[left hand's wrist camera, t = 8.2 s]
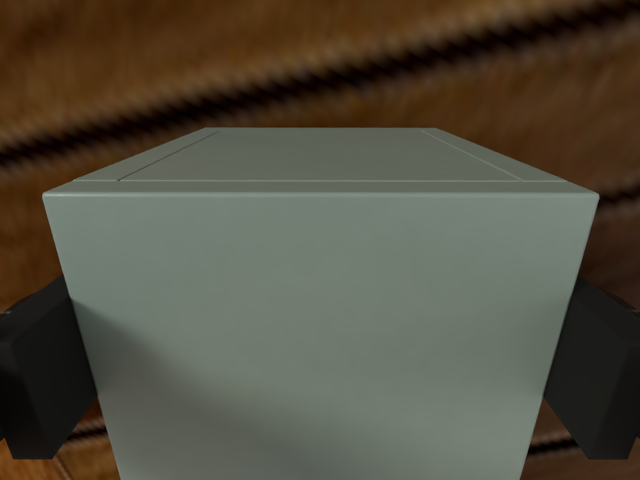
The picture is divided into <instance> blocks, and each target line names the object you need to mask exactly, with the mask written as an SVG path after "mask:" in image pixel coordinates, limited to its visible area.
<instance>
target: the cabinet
mask: <svg viewBox="0 0 640 480" xmlns="http://www.w3.org/2000/svg"><path fill="white" fill-rule="evenodd" d="M42 198H43V202H44V205H45V209H46V212H47V216H48V220H49V223H50V227H51V230H52V234H53V238H54V241H55V245H56V248H57V252H58V256H59V259H60V263H61V266H62V270H63V273H64V277H65V281H66V284H67V288H68V291H69V295H70V299H71V302H72V306H73V309H74V313H75V317H76V320H77V324H78V327H79V331H80V334H81V338H82V342H83V345H84V349H85V352H86V356H87V360H88V363H89V367H90V370H91V374H92V377H93V381H94V385H95V388H96V392H97V395H98V399H99V403H100V406H101V410H102V413H103V417H104V421H105V424H106V428H107V431H108V435H109V438H110V442H111V446H112V449H113V453H114V456H115V460H116V464H117V467H118V471H119V474H120V478H121V480H520V477H521V473H522V469H523V466H524V462H525V459H526V455H527V452H528V448H529V445H530V441H531V438H532V434H533V431H534V427H535V423H536V420H537V416H538V413H539V409H540V406H541V402H542V399H543V395H544V392H545V388H546V385H547V381H548V377H549V374H550V370H551V367H552V363H553V360H554V356H555V353H556V349H557V346H558V342H559V339H560V335H561V331H562V328H563V324H564V321H565V317H566V314H567V310H568V307H569V303H570V300H571V296H572V293H573V289H574V285H575V282H576V278H577V275H578V271H579V268H580V264H581V261H582V257H583V254H584V250H585V247H586V243H587V239H588V236H589V232H590V229H591V225H592V222H593V218H594V215H595V211H596V208H597V204H598V201H599V194H598V193H596V192H593V191H591V190H588V189H586V188H583V187H581V186H578V185H576V184H573V183H571V182H568V181H566V180H564V179H562V178H559V177H557V176H554V175H552V174H549V173H547V172H544V171H542V170H539V169H537V168H534V167H532V166H529V165H527V164H524V163H522V162H519V161H517V160H514V159H512V158H509V157H507V156H504V155H502V154H499V153H497V152H494V151H492V150H489V149H487V148H485V147H482V146H480V145H477V144H475V143H472V142H470V141H467V140H465V139H462V138H460V137H457V136H455V135H452V134H450V133H447V132H445V131H442V130H440V129H437V128H203V129H201V130H198V131H195V132H193V133H190V134H188V135H185V136H183V137H180V138H178V139H175V140H173V141H170V142H168V143H165V144H163V145H160V146H158V147H155V148H153V149H150V150H148V151H145V152H143V153H140V154H138V155H135V156H133V157H130V158H127V159H125V160H122V161H120V162H117V163H115V164H112V165H110V166H107V167H105V168H102V169H100V170H97V171H95V172H92V173H90V174H87V175H85V176H82V177H80V178H77V179H75V180H73V181H71V182H69V183H66V184H64V185H61V186H59V187H56V188H54V189H51V190H49V191H46V192H44V193H43V194H42Z"/></svg>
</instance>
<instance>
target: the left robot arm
mask: <svg viewBox="0 0 640 480" xmlns="http://www.w3.org/2000/svg"><path fill="white" fill-rule="evenodd" d="M97 396H98V395H97V392H96V388H95V385H94V381H93V377H92V374H91V370H90V367H89V363H88V360H87V356H86V352H85V349H84V345H83V342H82V338H81V334H80V331H79V327H78V324H77V320H76V317H75V313H74V309H73V306H72V302H71V299H70V295H69V291H68V288H67V284H66V281H65V277H64V273H63V274H62V275H61V276H59V277H58V278H57V279H55V280H54V281H53V282H51V283H50V284H48V285H47V286H46V287H44V288H43V289H42V290H40V291H38V292H36V293H34V294H32V295H29V296H27V297H25V298H23V299H21V300H19V301H18V302H17V303H15V304H14V305H12V306H11V307H10V308H8V309H7V310H5V311H4V314H0V441H1V440H2V439H3V438H4V437H5V440H6V442H7V445H8V447H9V450H10V452H11V455H12V457H13V459H52V458H53V457H54V456H55V454H56V453H57V451H58V450H59V449H60V447H61V446H62V445H63V443H64V442H65V440H66V439H67V438H68V436H69V435H70V433H71V432H72V431H73V429H74V428H75V426H76V425H77V424H78V422H79V421H80V419H81V418H82V417H83V415H84V414H85V412H86V411H87V410H88V408H89V407H90V405H91V404H92V403H93V401H94V400H95V399H96V397H97ZM543 396H544V398H545V399H546V401H547V402H548V403H549V405H550V406H551V408H552V409H553V410H554V412H555V413H556V415H557V416H558V417H559V419H560V420H561V422H562V423H563V424H564V426H565V427H566V429H567V430H568V431H569V433H570V434H571V435H572V437H573V438H574V440H575V441H576V442H577V444H578V445H579V447H580V448H581V449H582V451H583V452H584V454H585V455H586V456H587V458H588V459H628V456H629V454H630V451H631V449H632V446H633V444H634V441H635V439H636V436H638V437H639V438H640V312H637V310H636V309H635V308H634V307H632V306H631V305H629V304H628V303H627V302H625V301H624V300H622V299H621V298H619V297H617V296H615V295H613V294H610V293H608V292H606V291H604V290H602V289H599V288H596V287H595V286H593V285H592V284H591V283H589V282H588V281H587V280H585V279H584V278H583V277H581V276H580V275H577V278H576V282H575V285H574V289H573V293H572V296H571V300H570V303H569V307H568V310H567V314H566V317H565V321H564V324H563V328H562V331H561V335H560V339H559V342H558V346H557V349H556V353H555V356H554V360H553V363H552V367H551V370H550V374H549V377H548V381H547V385H546V388H545V392H544V395H543Z"/></svg>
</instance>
